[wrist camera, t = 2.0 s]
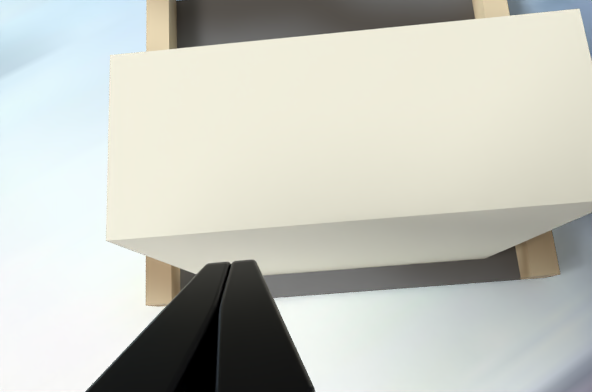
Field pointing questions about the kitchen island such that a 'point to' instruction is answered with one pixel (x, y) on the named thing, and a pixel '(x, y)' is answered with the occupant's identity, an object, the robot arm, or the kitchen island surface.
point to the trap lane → (313, 21)
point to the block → (352, 145)
